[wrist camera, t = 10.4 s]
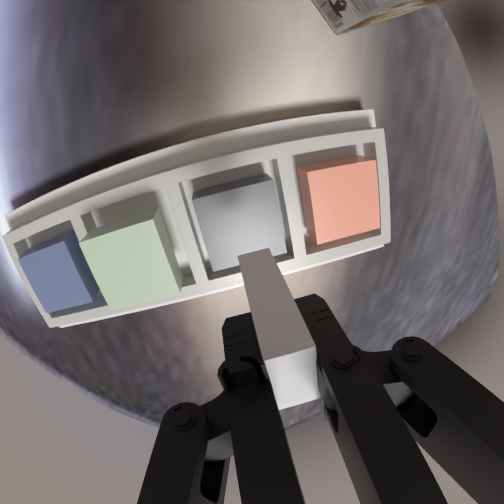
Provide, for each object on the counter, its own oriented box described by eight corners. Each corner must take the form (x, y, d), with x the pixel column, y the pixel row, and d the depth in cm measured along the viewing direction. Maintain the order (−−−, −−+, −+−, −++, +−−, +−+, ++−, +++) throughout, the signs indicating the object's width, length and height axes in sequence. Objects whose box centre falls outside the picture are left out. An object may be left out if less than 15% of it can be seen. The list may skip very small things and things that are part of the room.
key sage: (90, 229, 19) (78, 243, 17) (158, 207, 19) (153, 219, 17) (118, 292, 22) (111, 310, 19) (182, 276, 22) (180, 294, 20)
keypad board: (15, 208, 21) (-7, 222, 17) (361, 109, 22) (386, 109, 19) (66, 316, 27) (54, 340, 23) (373, 238, 28) (394, 255, 25)
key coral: (296, 166, 22) (307, 172, 19) (360, 155, 22) (375, 159, 20) (306, 232, 24) (317, 244, 22) (365, 217, 24) (380, 227, 22)
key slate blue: (30, 246, 20) (17, 258, 18) (76, 229, 21) (64, 241, 18) (56, 298, 23) (46, 313, 21) (101, 286, 23) (93, 302, 21)
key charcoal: (193, 191, 21) (191, 200, 19) (266, 173, 21) (273, 179, 19) (212, 257, 24) (213, 271, 21) (279, 239, 24) (287, 252, 22)
